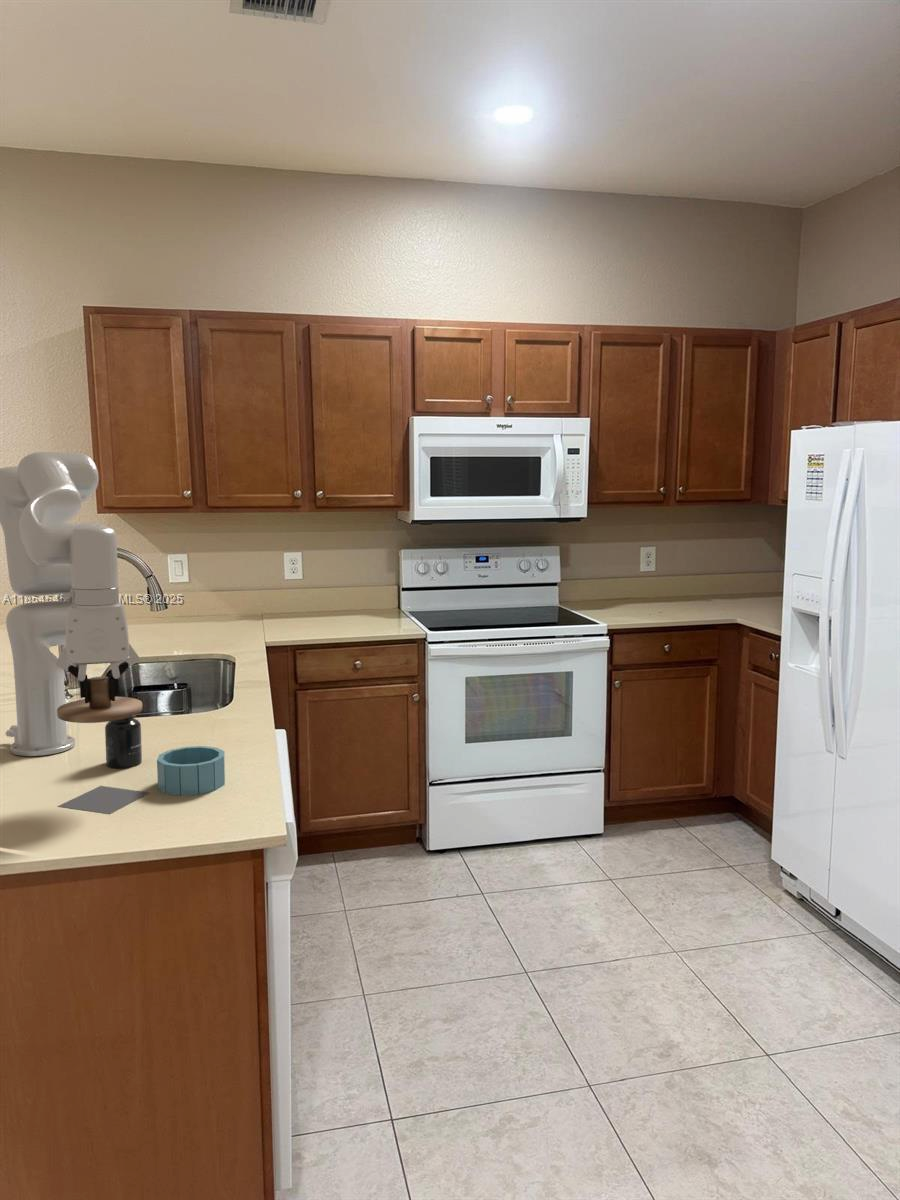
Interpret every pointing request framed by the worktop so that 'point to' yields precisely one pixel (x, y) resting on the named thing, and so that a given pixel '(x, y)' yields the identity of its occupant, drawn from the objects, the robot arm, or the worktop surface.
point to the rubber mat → (104, 799)
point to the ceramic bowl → (191, 770)
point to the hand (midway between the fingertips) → (100, 699)
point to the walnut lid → (99, 705)
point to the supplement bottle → (123, 743)
